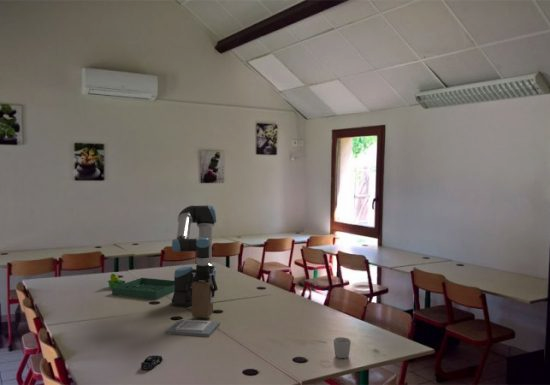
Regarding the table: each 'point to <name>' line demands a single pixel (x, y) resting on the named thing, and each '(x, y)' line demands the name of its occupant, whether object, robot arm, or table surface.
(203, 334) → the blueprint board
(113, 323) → the table surface
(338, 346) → the cup
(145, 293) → the maze
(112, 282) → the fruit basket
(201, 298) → the wooden block
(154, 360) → the race car
